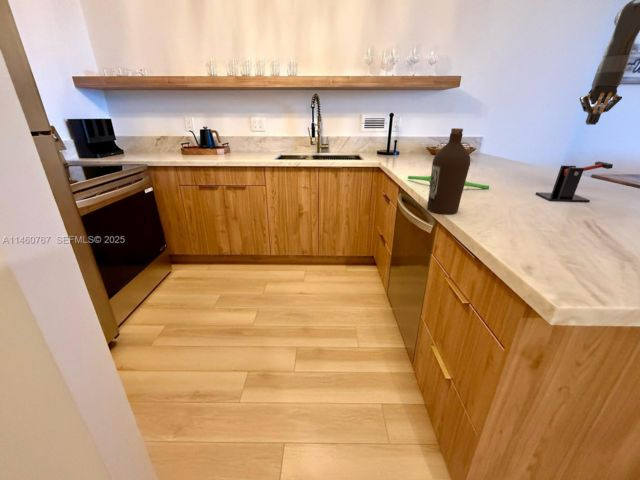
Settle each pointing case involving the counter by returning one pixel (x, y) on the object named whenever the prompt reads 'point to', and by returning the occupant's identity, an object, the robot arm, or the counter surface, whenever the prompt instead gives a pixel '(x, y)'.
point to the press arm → (594, 166)
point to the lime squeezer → (428, 178)
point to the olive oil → (448, 175)
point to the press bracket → (565, 186)
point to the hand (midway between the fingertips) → (590, 124)
